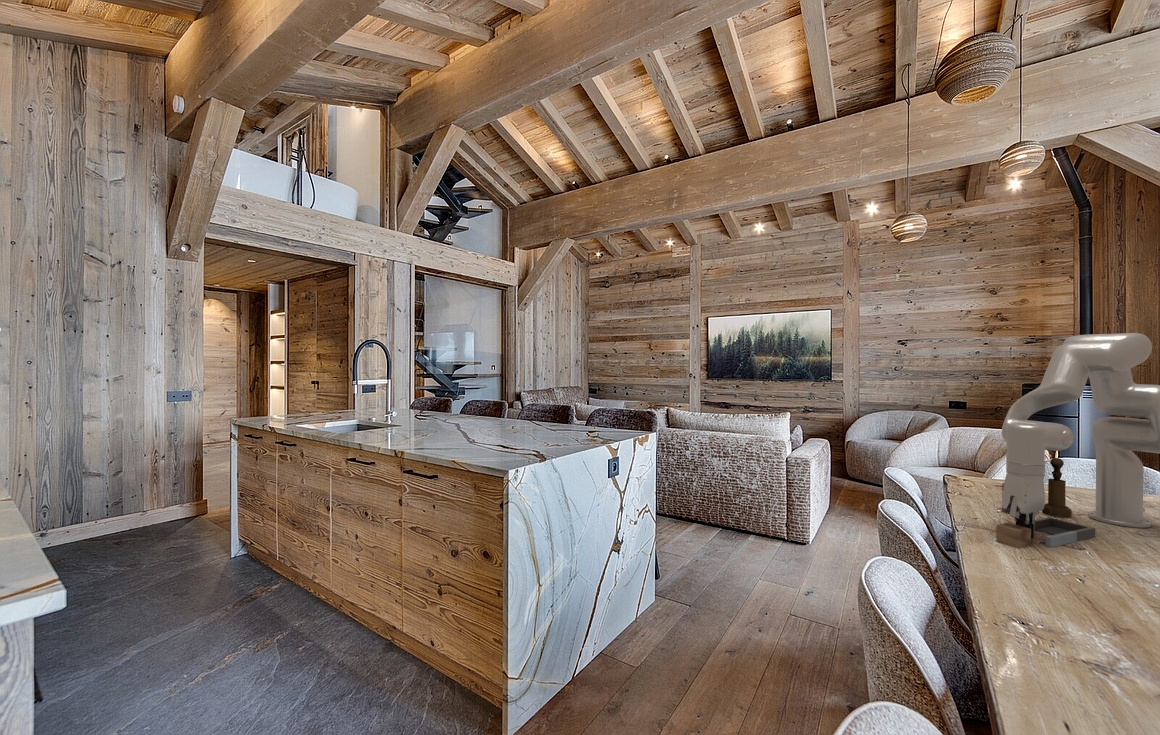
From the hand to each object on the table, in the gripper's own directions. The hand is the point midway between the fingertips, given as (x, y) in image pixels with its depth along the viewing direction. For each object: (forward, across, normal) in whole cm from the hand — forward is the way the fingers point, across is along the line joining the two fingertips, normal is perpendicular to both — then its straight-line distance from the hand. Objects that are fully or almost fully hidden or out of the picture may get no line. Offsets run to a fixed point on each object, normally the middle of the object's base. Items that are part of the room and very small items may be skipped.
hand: (1024, 537), depth 126 cm
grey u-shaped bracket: (+1, -11, 0) cm, 11 cm away
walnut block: (+1, +5, 0) cm, 5 cm away
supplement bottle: (+1, -27, -16) cm, 31 cm away
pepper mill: (+1, -37, -10) cm, 38 cm away
